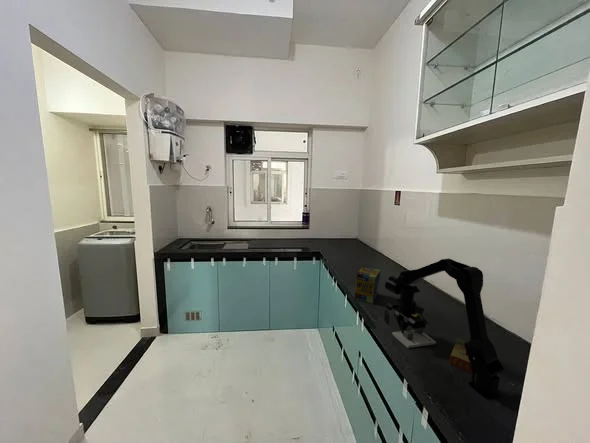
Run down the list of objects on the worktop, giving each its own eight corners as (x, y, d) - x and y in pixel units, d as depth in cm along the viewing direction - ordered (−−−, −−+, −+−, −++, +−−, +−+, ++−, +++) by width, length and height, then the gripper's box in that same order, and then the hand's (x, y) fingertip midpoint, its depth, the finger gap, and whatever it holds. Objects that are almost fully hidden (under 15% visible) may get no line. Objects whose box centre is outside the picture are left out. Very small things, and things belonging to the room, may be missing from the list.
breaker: (423, 332, 118) (424, 327, 118) (418, 333, 118) (419, 328, 117) (418, 328, 122) (419, 323, 121) (413, 329, 121) (413, 324, 120)
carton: (448, 364, 100) (450, 354, 100) (455, 346, 113) (456, 336, 112) (475, 375, 95) (476, 364, 95) (479, 354, 108) (480, 344, 107)
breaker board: (435, 343, 113) (435, 341, 113) (407, 348, 109) (408, 345, 109) (418, 330, 122) (418, 328, 122) (392, 334, 118) (392, 332, 118)
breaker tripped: (413, 338, 113) (414, 333, 113) (407, 339, 112) (408, 334, 112) (408, 334, 116) (409, 329, 116) (402, 335, 116) (403, 329, 115)
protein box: (354, 299, 152) (356, 273, 149) (360, 290, 165) (363, 266, 163) (372, 304, 147) (375, 277, 145) (378, 294, 160) (380, 269, 158)
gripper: (438, 307, 109) (433, 342, 111) (407, 289, 127) (403, 320, 129) (416, 309, 106) (411, 345, 108) (387, 290, 124) (383, 322, 126)
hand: (402, 332), depth 118 cm, fingers closed
